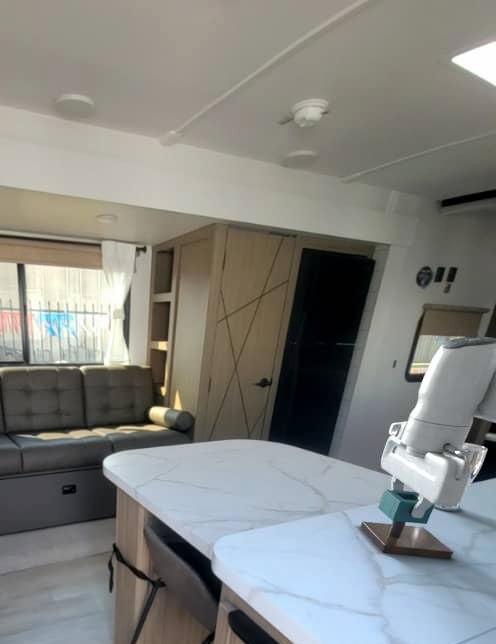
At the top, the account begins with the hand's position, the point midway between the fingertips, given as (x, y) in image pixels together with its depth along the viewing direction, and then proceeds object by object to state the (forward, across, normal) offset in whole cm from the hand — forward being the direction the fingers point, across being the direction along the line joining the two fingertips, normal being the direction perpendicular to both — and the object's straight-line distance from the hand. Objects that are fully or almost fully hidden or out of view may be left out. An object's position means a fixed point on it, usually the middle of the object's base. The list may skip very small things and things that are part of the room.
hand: (404, 507), depth 77 cm
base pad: (+7, 0, -2) cm, 8 cm away
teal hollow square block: (+2, 0, 0) cm, 2 cm away
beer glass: (+8, +22, -22) cm, 32 cm away
